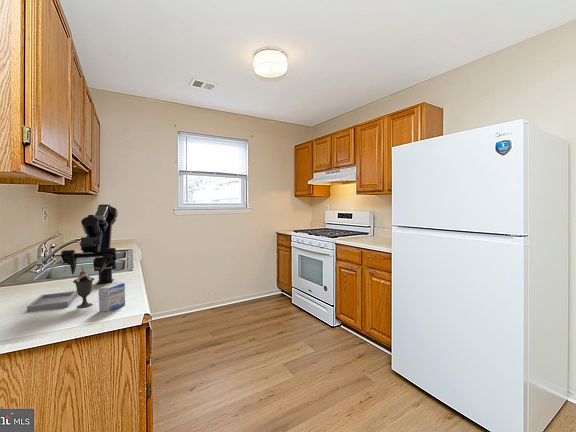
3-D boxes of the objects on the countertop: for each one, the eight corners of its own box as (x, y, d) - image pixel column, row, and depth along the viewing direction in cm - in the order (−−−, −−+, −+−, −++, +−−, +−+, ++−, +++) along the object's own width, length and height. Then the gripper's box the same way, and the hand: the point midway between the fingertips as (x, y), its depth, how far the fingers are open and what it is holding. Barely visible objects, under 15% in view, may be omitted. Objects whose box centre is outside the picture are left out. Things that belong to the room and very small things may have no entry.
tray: (41, 299, 117) (41, 294, 117) (77, 295, 122) (77, 290, 122) (27, 311, 103) (26, 306, 103) (68, 306, 108) (67, 301, 108)
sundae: (82, 302, 113) (81, 265, 112) (99, 303, 112) (98, 265, 112) (69, 309, 106) (67, 269, 105) (86, 309, 106) (85, 269, 105)
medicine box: (109, 312, 103) (108, 288, 102) (98, 311, 104) (98, 287, 103) (125, 304, 111) (125, 282, 110) (115, 304, 111) (115, 282, 111)
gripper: (61, 230, 114) (51, 262, 104) (115, 228, 121) (110, 259, 111) (68, 247, 121) (60, 279, 111) (119, 245, 128) (115, 274, 118)
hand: (86, 272), depth 113 cm, fingers open, 9 cm apart
